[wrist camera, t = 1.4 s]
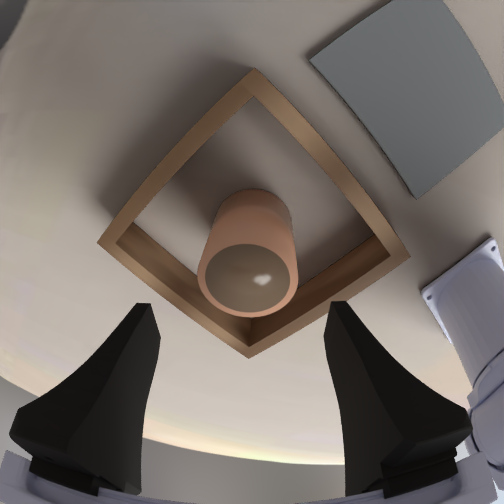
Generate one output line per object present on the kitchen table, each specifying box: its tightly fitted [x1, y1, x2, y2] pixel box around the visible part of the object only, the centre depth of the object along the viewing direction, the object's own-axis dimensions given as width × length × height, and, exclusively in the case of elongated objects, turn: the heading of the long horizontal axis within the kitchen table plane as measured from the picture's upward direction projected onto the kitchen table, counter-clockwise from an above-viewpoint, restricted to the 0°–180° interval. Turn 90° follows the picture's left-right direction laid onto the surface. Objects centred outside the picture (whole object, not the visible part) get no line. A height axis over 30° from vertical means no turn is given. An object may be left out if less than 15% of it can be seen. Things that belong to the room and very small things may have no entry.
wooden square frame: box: [97, 68, 411, 359], centre depth 19 cm, size 14×14×3 cm
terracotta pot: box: [197, 189, 298, 317], centre depth 18 cm, size 5×5×6 cm
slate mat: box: [308, 0, 504, 200], centre depth 14 cm, size 11×10×1 cm
